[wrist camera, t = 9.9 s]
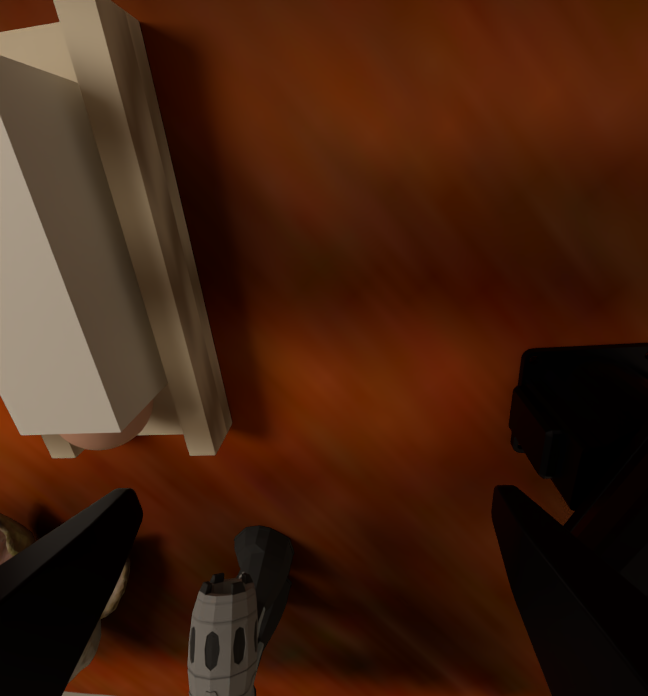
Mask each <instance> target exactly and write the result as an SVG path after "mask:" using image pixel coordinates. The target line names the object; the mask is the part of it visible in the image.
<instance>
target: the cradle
mask: <svg viewBox="0 0 648 696" xmlns="http://www.w3.org/2000/svg"><path fill="white" fill-rule="evenodd" d="M53 1H54V4H55V7H56V11H57V14H58V17H59V21H60V22H58V23H52V24H46V25H41V26H35V27H29V28H23V29H17V30H11V31H5V32H0V55H1V56H4V57H7V58H10V59H12V60H15V61H18V62H21V63H24V64H26V65H29V66H32V67H35V68H38V69H40V70H43V71H46V72H49V73H52V74H55V75H57V76H60V77H63V78H66V79H69V80H71V81H74V82H77V83H78V84H79V87H80V91H81V94H82V97H83V101H84V104H85V107H86V111H87V114H88V117H89V121H90V124H91V127H92V131H93V134H94V137H95V141H96V144H97V147H98V151H99V154H100V157H101V161H102V164H103V167H104V171H105V174H106V177H107V181H108V184H109V187H110V191H111V194H112V197H113V201H114V204H115V207H116V211H117V214H118V217H119V221H120V224H121V227H122V231H123V234H124V237H125V241H126V244H127V247H128V251H129V254H130V257H131V261H132V264H133V267H134V271H135V274H136V277H137V281H138V284H139V287H140V291H141V294H142V297H143V301H144V304H145V307H146V311H147V314H148V317H149V321H150V324H151V327H152V331H153V334H154V337H155V341H156V344H157V347H158V351H159V354H160V357H161V361H162V364H163V367H164V371H165V374H166V377H167V381H168V384H167V385H166V386H165V387H164V388H163V389H162V390H161V391H160V392H159V393H158V394H157V395H156V396H155V397H154V398H153V409H152V413H151V416H150V418H149V420H148V422H147V424H146V426H145V427H144V428H143V430H142V431H141V432H140V433H139V434H138V435H168V434H184V438H185V441H186V444H187V448H188V451H189V454H190V456H193V455H216V453H217V451H218V449H219V448H220V446H221V444H222V442H223V440H224V438H225V436H226V434H227V432H228V431H229V429H230V427H231V425H232V419H231V415H230V411H229V407H228V402H227V398H226V394H225V389H224V385H223V381H222V376H221V372H220V368H219V363H218V359H217V355H216V351H215V346H214V342H213V338H212V333H211V329H210V325H209V320H208V316H207V312H206V308H205V303H204V299H203V295H202V290H201V286H200V282H199V277H198V273H197V269H196V265H195V260H194V256H193V252H192V247H191V243H190V239H189V234H188V230H187V226H186V222H185V217H184V213H183V209H182V204H181V200H180V196H179V191H178V187H177V183H176V179H175V174H174V170H173V166H172V161H171V157H170V153H169V148H168V144H167V140H166V136H165V131H164V127H163V123H162V118H161V114H160V110H159V105H158V101H157V97H156V93H155V88H154V84H153V80H152V75H151V71H150V67H149V62H148V58H147V54H146V49H145V45H144V41H143V37H142V32H141V28H140V24H139V21H138V20H137V19H135V18H134V17H132V16H131V15H130V14H128V13H127V12H126V11H124V10H123V9H122V8H120V7H119V6H117V5H116V4H115V3H113V2H112V1H111V0H53ZM41 436H42V438H43V440H44V442H45V444H46V446H47V448H48V450H49V452H50V454H51V456H52V458H76V457H77V456H78V455H79V454H80V453H81V452H82V451H83V450H84V448H80V447H77V446H75V445H73V444H71V443H69V442H67V441H66V440H65V439H63V438H62V437H61V436H60V435H59V434H45V435H41Z"/></svg>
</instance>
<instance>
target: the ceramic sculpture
mask: <svg viewBox="0 0 648 696" xmlns="http://www.w3.org/2000/svg"><path fill="white" fill-rule="evenodd" d="M34 542H35V539H34V536H33V533H32V532H30V531H29V530H28V529H27V528H26V527H24V526H23V525H21V524H20V523H18V522H17V521H15V520H13V519H11V518H9V517H7V516H5V515H3V514H1V513H0V565H1V564H2V563H4V562H6V561H7V560H9V559H10V558H12V557H13V556H15V555H16V554H18V553H19V552H21V551H22V550H24V549H25V548H27V547H28V546H30V545H31V544H33V543H34ZM129 574H130V559H129V556H128V558H127V561H126V563H125V566H124V568H123V571H122V573H121V576H120V578H119V580H118V583H117V585H116V587H115V589H114V591H113V593H112V595H111V597H110V599H109V601H108V603H107V605H106V607H105V609H104V611H103V613H102V615H101V617H100V619H99V621H98V623H97V625H96V627H95V629H94V631H93V633H92V636H91V638H90V640H89V642H88V644H87V646H86V648H85V650H84V652H83V654H82V656H81V658H80V660H79V662H78V664H77V666H76V668H75V670H74V672H73V674H72V676H71V678H70V680H69V682H70V681H71V680H72V679H73V678H74V677H75V676H76V675H77V674H78V673H79V672H80V671H81V670H82V669H84V668H85V667H86V666H88V665H89V664H90V662H91V661H92V659H93V657H94V655H95V653H96V651H97V648H98V645H99V641H100V637H101V619H102V618H104V617H107V616H108V615H109V614H110V613H112V612H113V611H114V610H115V609H116V608H117V606H118V603H119V601H120V599H121V597H122V595H123V594H124V593H125V589H126V585H127V582H128V578H129ZM69 682H68V683H69Z"/></svg>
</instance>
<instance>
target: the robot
mask: <svg viewBox="0 0 648 696" xmlns="http://www.w3.org/2000/svg"><path fill="white" fill-rule="evenodd" d="M234 541H235V552H236V555H237V559H238V562H239V566H240V568H241V570H240V572H239V574H238V576H237V578H233V579H224V573H219V574H214V575H213V576H212V579H211V581H210V582H209V581H207V582H204V583H203V585H202V587H201V589H200V591H199V593H198V596H197V600H196V603H195V606H194V610H193V613H192V621H191V629H190V638H189V651H188V677H189V688H190V691H189V695H190V696H256V689H255V687H254V680H255V676H256V672H257V669H258V666H259V662H260V659H261V656H262V652H263V650H264V648H265V647H266V645H267V643H268V641H269V640H270V638H271V636H272V634H273V633H274V631H275V629H276V627H277V625H278V623H279V621H280V619H281V616H282V614H283V611H284V609H285V606H286V603H287V600H288V599H287V598H288V594H289V590H290V586H291V583H292V582H291V581H290V580H289V579H288V578H287V576H288V574H289V571H290V565H291V562H292V557H293V555H294V550H293V547H292V544H291V541H290V538H288V537H286V536H284V535H282V534H280V533H279V532H277V531H275V530H273V529H271V528H268V527H263V526H253V527H246V528H245V529H244V530H243V531H241V532H240V533H239V534H238V535H237V536H236V537H235V539H234Z"/></svg>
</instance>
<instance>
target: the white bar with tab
mask: <svg viewBox="0 0 648 696" xmlns="http://www.w3.org/2000/svg"><path fill="white" fill-rule="evenodd" d="M167 384H168V381H167V377H166V374H165V371H164V367H163V364H162V361H161V357H160V354H159V351H158V347H157V344H156V341H155V337H154V334H153V331H152V327H151V324H150V321H149V317H148V314H147V311H146V307H145V304H144V301H143V297H142V294H141V291H140V287H139V284H138V281H137V277H136V274H135V271H134V267H133V264H132V261H131V257H130V254H129V251H128V247H127V244H126V241H125V237H124V234H123V231H122V227H121V224H120V221H119V217H118V214H117V211H116V207H115V204H114V201H113V197H112V194H111V191H110V187H109V184H108V181H107V177H106V174H105V171H104V167H103V164H102V161H101V157H100V154H99V151H98V147H97V144H96V141H95V137H94V134H93V131H92V127H91V124H90V121H89V117H88V114H87V111H86V107H85V104H84V101H83V97H82V94H81V91H80V87H79V84H78V83H77V82H74V81H71V80H69V79H66V78H63V77H60V76H57V75H55V74H52V73H49V72H46V71H43V70H40V69H38V68H35V67H32V66H29V65H26V64H24V63H21V62H18V61H15V60H12V59H10V58H7V57H4V56H1V55H0V395H1V397H2V399H3V401H4V403H5V405H6V407H7V409H8V411H9V413H10V415H11V417H12V419H13V421H14V423H15V425H16V427H17V429H18V430H19V432H20V434H21V435H45V434H59V435H60V436H61V437H62V438H63V439H65V440H66V441H67V442H69V443H71V444H73V445H75V446H77V447H80V448H84V449H89V450H105V449H111V448H114V447H118V446H120V445H123V444H125V443H126V442H128V441H130V440H131V439H133V438H134V437H135V436H137V435H138V434H139V433H140V432H141V431H142V430H143V428H144V427H145V426H146V424H147V422H148V420H149V418H150V416H151V413H152V409H153V398H154V397H155V396H156V395H157V394H158V393H159V392H160V391H161V390H162V389H163V388H164V387H165V386H166V385H167Z"/></svg>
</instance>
